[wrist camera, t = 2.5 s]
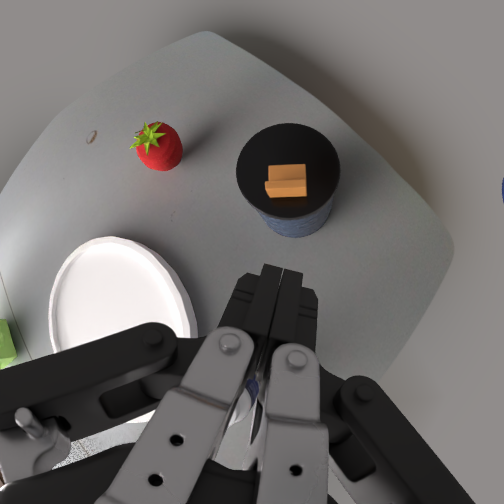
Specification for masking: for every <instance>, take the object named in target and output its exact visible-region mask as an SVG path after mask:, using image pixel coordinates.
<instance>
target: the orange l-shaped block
mask: <svg viewBox="0 0 504 504" xmlns="http://www.w3.org/2000/svg"><path fill="white" fill-rule="evenodd" d="M265 189H266V191H267V193H268V195H269V197H270V198H271V197H298V196H307V184H306V166H305V164H293V165H273V166H269V181H266V182H265Z"/></svg>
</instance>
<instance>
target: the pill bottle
mask: <svg viewBox="0 0 504 504" xmlns="http://www.w3.org/2000/svg"><path fill="white" fill-rule="evenodd" d="M256 374H257V372H255V375H254V378H253V380H251V379H247V383H246V386H245V389H244V392H243V393H242V395H241V396H240V398H239V401H238V403H237V406H236V408H235V411H234V413H233V416H232V418H231V421H230V423H229V425H228V427H230V426H231V425H232V424H233V423H236V422H239V421H241V420H242V419H244V418H245V417H246V416H247V414H248V413H249V411H250V410H251V408H252V406H253V404H254V403H255V401H256V398H257V395H258V393H259V389H260V385H261V382H259V381H255V378H256Z"/></svg>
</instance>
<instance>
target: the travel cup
mask: <svg viewBox="0 0 504 504" xmlns="http://www.w3.org/2000/svg"><path fill="white" fill-rule="evenodd" d="M293 164H305V166H306V184H307V196H298V197H271V198H270V197H269V195H268V193H267V191H266V189H265V182H266V181H269V166H273V165H293ZM236 177H237V183H238V186H239V188H240V190H241V192H242V194H243V196H244V197H245V199H246V200H247V201H248V203H249V204H250V205H251V206H252V207H253V208H255V209H256V210H257V211H258V213H259V214H260V215H261V217H262V218H263V219H264V221H265V222H266V224H267V225H268V226H269V227H270V228H271V229H272V230H273V231H275V232H277V233H278V234H281V235H283V236H286V237H293V238H298V237H304V236H308V235H310V234H312V233H314V232H316V231H317V230H319V229H320V228H321V227H322V226H323V225H324V223H325V222H326V220H327V219H328V216H329V214H330V211H331V206H332V202H333V197H334V194H335V192H336V189H337V187H338V183H339V179H340V162H339V158H338V155H337V152H336V150H335V148H334V147H333V145H332V144H331V142H330V141H329V140H328V139H327V138H326V137H325V136H324V135H322V134H321V133H320V132H318V131H317V130H315V129H313V128H311V127H308V126H305V125H301V124H294V123H284V124H277V125H273V126H270V127H268V128H265V129H263V130H261V131H260V132H258V133H257V134H255V135H254V136H253V137H252V138H251V139H250V140H249V141H248V142H247V143H246V144H245V146H244V147H243V149H242V151H241V153H240V155H239V158H238V161H237V167H236Z"/></svg>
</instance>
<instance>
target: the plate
mask: <svg viewBox="0 0 504 504" xmlns="http://www.w3.org/2000/svg"><path fill="white" fill-rule="evenodd" d="M48 318H49V331H50V339H51V343H52V347H53V350H54V353H57V352H60V351H63V350H66V349H70V348H73V347H76V346H79V345H82V344H85V343H88V342H91V341H94V340H97V339H100V338H103V337H106V336H109V335H112V334H115V333H118V332H120V331H123V330H126V329H129V328H132V327H135V326H138V325H141V324H144V323H147V322H159V323H163V324H165V325H167V326H169V327H170V328H171V329H173V331H174V332H175V334H176V336H177V337H181V338H198V328H197V321H196V317H195V314H194V311H193V307H192V304H191V300H190V297H189V295H188V293H187V291H186V289H185V288H184V286H183V284H182V282H181V280H180V279H179V277H178V275H177V273H176V272H175V271H174V270H173V269H172V268H171V266H170V265H169V264H168V263H167V262H166V261H165V260H164V259H163V258H162V257H161V256H160V255H159V254H158V253H156V252H154V251H153V250H151V249H149V248H148V247H146V246H145V245H143V244H141V243H138V242H135V241H131V240H127V239H122V238H118V237H114V236H109V237H102V238H95V239H92V240H90V241H89V242H87V243H85V244H83V245H81V246H79V247H78V248H77V249H76V250H75V251H74V252H73V253H72V254H71V255H70V256H69V257H68V258H67V259H66V260H65V262H64V264H63V265H62V267H61V269H60V270H59V272H58V274H57V276H56V279H55V282H54V285H53V288H52V292H51V295H50V304H49V314H48ZM154 412H155V410H154V411H152V412H149V413H147V414H145V415H142V416H140V417H138V418H135V419H133V420H130V421H128V422H125V423H139V422H146V421H149V420H150V419H151V417H152V415H153V414H154Z"/></svg>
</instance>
